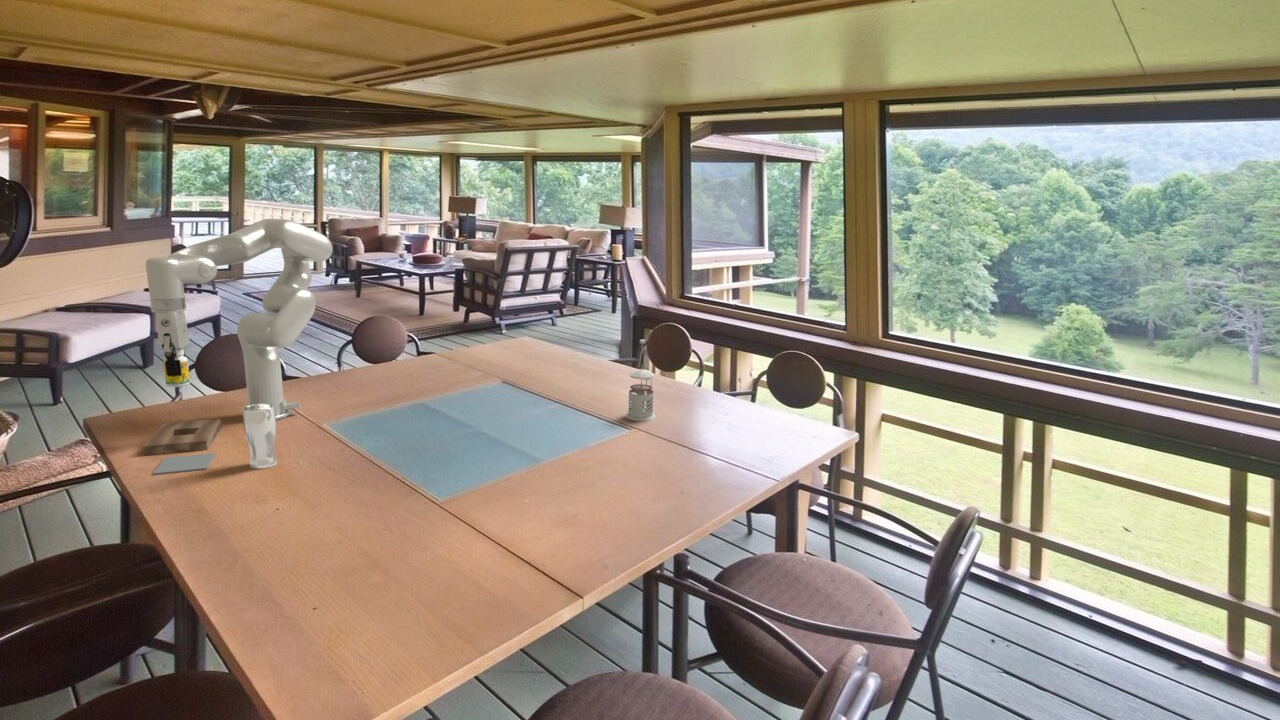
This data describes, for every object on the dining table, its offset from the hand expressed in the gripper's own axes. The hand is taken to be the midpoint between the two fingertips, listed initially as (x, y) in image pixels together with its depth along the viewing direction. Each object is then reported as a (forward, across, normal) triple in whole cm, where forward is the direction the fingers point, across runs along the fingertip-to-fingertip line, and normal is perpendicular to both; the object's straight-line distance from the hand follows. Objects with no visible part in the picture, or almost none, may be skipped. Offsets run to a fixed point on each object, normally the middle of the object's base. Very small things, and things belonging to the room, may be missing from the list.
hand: (177, 371), depth 185 cm
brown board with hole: (+19, 0, 0) cm, 19 cm away
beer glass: (+19, -26, -22) cm, 39 cm away
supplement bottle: (+4, 0, 0) cm, 4 cm away
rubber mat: (+19, -20, -4) cm, 28 cm away
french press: (+20, -14, -128) cm, 130 cm away
